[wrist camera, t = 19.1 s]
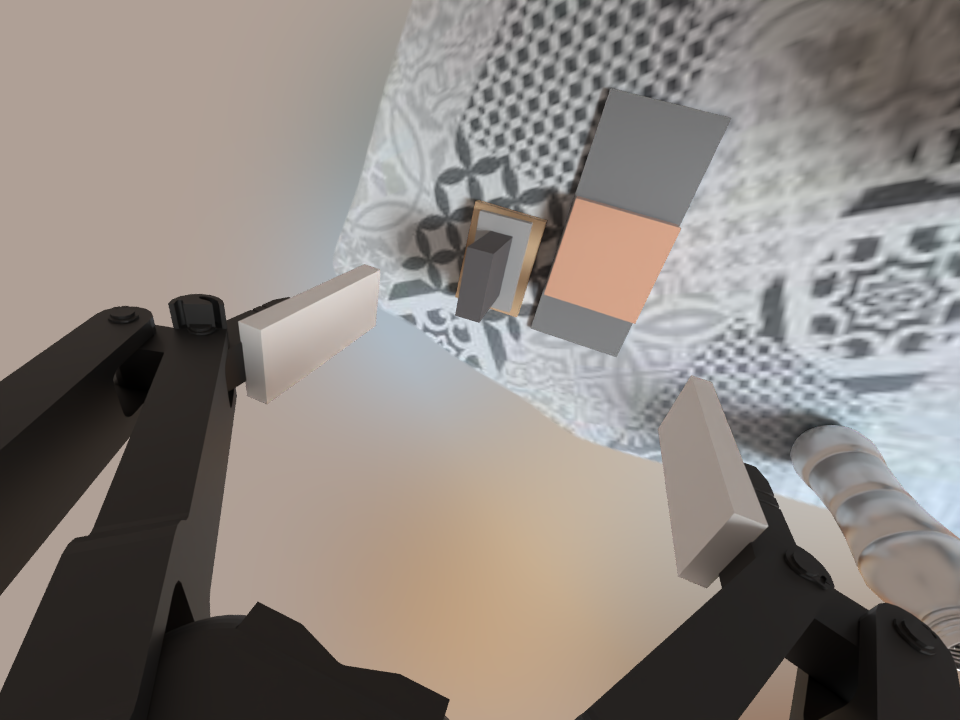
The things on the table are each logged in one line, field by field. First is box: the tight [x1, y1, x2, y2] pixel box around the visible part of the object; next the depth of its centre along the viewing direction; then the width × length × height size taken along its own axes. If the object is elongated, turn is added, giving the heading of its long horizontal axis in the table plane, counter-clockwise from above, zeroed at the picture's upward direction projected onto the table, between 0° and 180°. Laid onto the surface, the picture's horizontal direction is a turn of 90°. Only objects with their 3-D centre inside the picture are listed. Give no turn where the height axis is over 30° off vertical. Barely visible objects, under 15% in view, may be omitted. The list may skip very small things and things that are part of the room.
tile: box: [544, 196, 681, 324], centre depth 36 cm, size 2×9×9 cm
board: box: [455, 200, 547, 317], centre depth 40 cm, size 10×7×1 cm
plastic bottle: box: [790, 425, 960, 672], centre depth 31 cm, size 6×7×20 cm
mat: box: [531, 88, 731, 357], centre depth 37 cm, size 22×10×1 cm, turn 166°
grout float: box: [455, 210, 533, 322], centre depth 36 cm, size 9×5×8 cm, turn 168°
